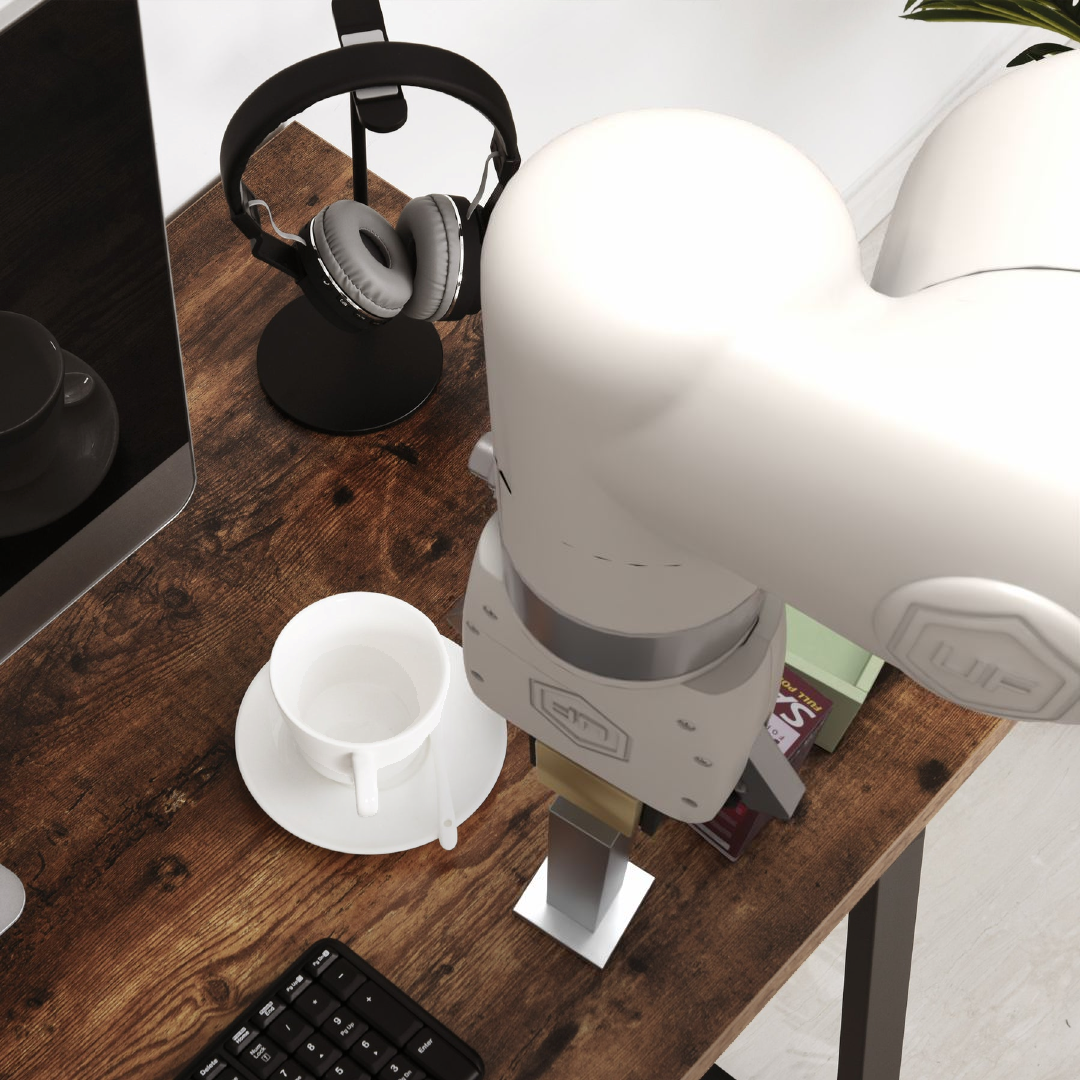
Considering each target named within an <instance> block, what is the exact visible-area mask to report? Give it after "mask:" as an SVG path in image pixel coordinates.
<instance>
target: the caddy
mask: <svg viewBox="0 0 1080 1080" xmlns="http://www.w3.org/2000/svg"><path fill="white" fill-rule="evenodd" d="M785 605H786V617H787V644H786V656H785V664H784V665H785V666H786V667H787V668H789V669H790V670H791V671H793V672H794V673H795V674H797V675H798V676H799V677H801V678H802V679H803V680H804V681H806V682H807V683H808V684H810V685H811V686H812V687H814V688H815V689H816V690H818V691H819V692H820V693H822V694H823V695H825V696H826V697H827V698H829V699H830V700H832V701H833V703H834V706H833V708H832V710H831V712H830V714H829V715H828V717H827V719H826V721H825V723H824V725H823V727H822V729H821V731H820V733H819V734H818V736H817V738H816V740H815V742H814V744H815V745H817V746H818V747H820V748H822V749H824V750H826V751H827V752H829V753H832V754H833V752H834V751H835V749H836V747H837V746H838V744H839V743H840V741H841V739H842V738H843V736H844V734H845V733H846V731H847V730H848V728H849V726H850V725H851V723H852V721H853V720H854V718H855V717H856V715H857V713H858V712H859V711H860V709H861V707H862V706H863V704H864V702H865V701H866V698H867V696H868V694H869V692H870V690H871V689H872V687H873V685H874V683H875V681H876V680H877V677H878V675H879V673H880V672H881V670H882V668H883V666H884V665H885V662H886V661H884V660H882V659H880V658H878V657H876V656H875V655H873V654H871V653H869V652H868V651H866V650H864V649H862V648H861V647H859V646H857V645H856V644H854V643H852V642H851V641H849V640H847V639H845V638H844V637H842V636H840V635H839V634H837V633H835V632H833V631H832V630H830V629H828V628H827V627H825V626H823V625H822V624H820V623H818V622H817V621H815V620H813V619H812V618H810V617H808V616H806V615H805V614H803V613H801V612H800V611H798V610H796V609H795V608H793V607H791V606H790V605H788V604H786V603H785Z"/></svg>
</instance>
